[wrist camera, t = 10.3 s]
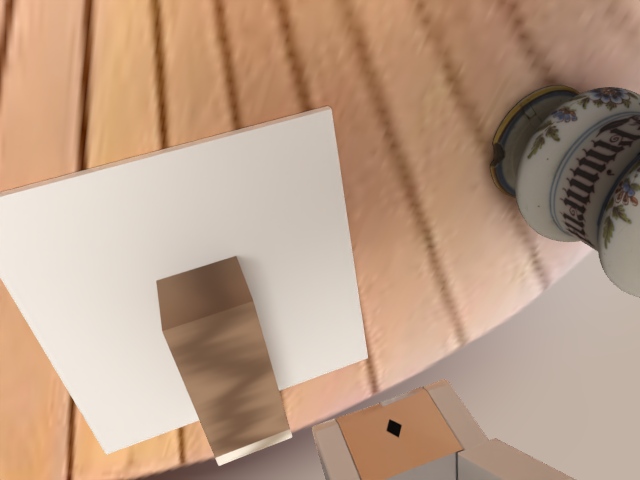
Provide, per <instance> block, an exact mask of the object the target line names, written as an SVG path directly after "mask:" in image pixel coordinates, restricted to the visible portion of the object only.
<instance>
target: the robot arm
mask: <svg viewBox="0 0 640 480" xmlns="http://www.w3.org/2000/svg"><path fill="white" fill-rule="evenodd" d="M312 431H313V435H314V438H315V443H316V446H317V451H318V455H319V458H320V462H321V465H322V469H323V472H324V475H325V479H326V480H575V479H574V478H572V477H570V476H568V475H566V474H564V473H562V472H560V471H558V470H556V469H554V468H552V467H550V466H548V465H547V464H545V463H543V462H541V461H539V460H537V459H535V458H533V457H531V456H529V455H527V454H525V453H523V452H521V451H519V450H517V449H515V448H514V447H512V446H510V445H507V444H506V443H504V442H502V441H500V440H498V439H496V438H495V439H492V440H488V438H487V437H486V435H485V434H484V432H483V431H482V429H481V428H480V427H479V425H478V424H477V422H476V421H475V419H474V418H473V416H472V415H471V413H470V412H469V410H468V409H467V408H466V406H465V405H464V403H463V402H462V400H461V399H460V397H459V396H458V395H457V393H456V392H455V390H454V389H453V387H452V386H451V384H450V383H449V382H448V381H446V380H445V379H443V380H440V381H437V382H435V383H432V384H430V385H427V386H424V387H419V388H417V389H414V390H411V391H409V392H406V393H403V394H401V395H398V396H396V397H393V398H390V399H388V400H385V401H383V402H380V403H379V404H377V405H374V406H371V407H368V408H365V409H362V410H359V411H356V412H353V413H350V414H347V415H344V416H341V417H338V418H336V419H332V420H329V421H327V422H324V423H321V424H318V425H315V426H312Z"/></svg>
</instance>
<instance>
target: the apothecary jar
mask: <svg viewBox="0 0 640 480" xmlns="http://www.w3.org/2000/svg"><path fill="white" fill-rule="evenodd" d="M493 146H494V152H495V158H494V160H493V162H492V163H491V165H490V169H491V174H492V178H493V180H494V182H495V184H496V186H497V187H498V188H499V189H500V190H501V191H502V192H504V193H505V194H507V195H509V196H512V197H515V198H516V200H517V204H518V207H519V210H520V212H521V214H522V216H523V217H524V219H525V220H526V222H527V223H528V224H529V225H530V227H531V228H532V229H534V230H535V231H536V232H537V233H539V234H540V235H542V236H544V237H547V238H549V239H552V240H556V241H563V242H575V241H582V242H584V243H585V244H587V245H589V246H590V247H592V248H593V249H595V250H597V251H598V253H599V258H600V262H601V265H602V268H603V270H604V272H605V273H606V275H607V277H608V278H609V279H610V280H611V281H612V282H613V283H614V284H615V285H616V286H617V287H618V288H619V289H621V290H622V291H624V292H626V293H628V294H630V295H633V296H636V297H640V95H639V94H637V93H635V92H632V91H629V90H626V89H622V88H615V87H607V88H598V89H594V90H590V91H587V92H584V93H581V94H580V93H579V92H578V91H576V90H575V89H573V88H570V87H567V86H550V87H546V88H543V89H540V90H538V91H535V92H533V93H532V94H530V95H528V96H527V97H525V98H524V99H523V100H521V101H520V102H519V103H518V104H517V105H516V106H515V107H514V108H513V109H512V110H511V111H510V112H509V113H508V114H507V116H506V117H505V118H504V120H503V122H502V123H501V125H500V127H499V129H498V131H497V133H496V135H495V138H494V140H493Z"/></svg>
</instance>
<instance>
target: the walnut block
mask: <svg viewBox="0 0 640 480" xmlns="http://www.w3.org/2000/svg"><path fill="white" fill-rule="evenodd" d="M156 284H157V292H158V301H159V309H160V318H161V326H162V332H163V335H164V337H165V339H166V342H167V344H168V347H169V349H170V351H171V354H172V356H173V358H174V361H175V363H176V366H177V368H178V370H179V373H180V375H181V377H182V380H183V382H184V385H185V387H186V389H187V392H188V394H189V396H190V399H191V401H192V404H193V406H194V408H195V411H196V413H197V415H198V418H199V420H200V423H201V425H202V427H203V430H204V432H205V434H206V437H207V439H208V442H209V444H210V446H211V449H212V451H213V453H214V456H215V458H216V461H217V463H218V465H219V466H220V465H222V464H224V463H227V462H230V461H232V460H235V459H237V458H240V457H243V456H245V455H248V454H250V453H253V452H255V451H258V450H261V449H263V448H266V447H268V446H271V445H274V444H276V443H279V442H281V441H284V440H286V439H289V438H291V437H292V434H291V431H290V427H289V424H288V420H287V417H286V413H285V410H284V406H283V403H282V399H281V396H280V392H279V389H278V385H277V382H276V378H275V375H274V371H273V368H272V364H271V361H270V357H269V354H268V350H267V347H266V343H265V340H264V336H263V333H262V329H261V326H260V322H259V319H258V315H257V312H256V308H255V305H254V301H253V298H252V296H251V293H250V291H249V288H248V285H247V283H246V280H245V277H244V275H243V272H242V270H241V267H240V264H239V262H238V259H237V256H234V257H231V258H227V259H224V260H221V261H218V262H215V263H211V264H208V265H205V266H202V267H198V268H195V269H192V270H189V271H186V272H182V273H179V274H176V275H173V276H170V277H166V278H163V279H160V280H157V281H156Z"/></svg>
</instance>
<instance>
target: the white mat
mask: <svg viewBox="0 0 640 480" xmlns="http://www.w3.org/2000/svg"><path fill="white" fill-rule="evenodd" d="M234 256H237V259H238V262H239V264H240V267H241V270H242V272H243V275H244V277H245V280H246V283H247V285H248V288H249V291H250V293H251V296H252V298H253V301H254V305H255V308H256V312H257V315H258V319H259V322H260V326H261V329H262V333H263V336H264V340H265V343H266V347H267V350H268V354H269V357H270V361H271V364H272V368H273V371H274V375H275V378H276V382H277V385H278V389H279V391H280V390H283V389H285V388H288V387H291V386H294V385H296V384H299V383H302V382H304V381H307V380H310V379H313V378H315V377H318V376H321V375H323V374H326V373H329V372H332V371H334V370H337V369H340V368H342V367H345V366H348V365H350V364H353V363H356V362H359V361H361V360H364V359H367V358H368V355H367V348H366V341H365V334H364V327H363V321H362V314H361V307H360V300H359V293H358V286H357V280H356V273H355V266H354V259H353V252H352V245H351V239H350V232H349V225H348V218H347V211H346V204H345V198H344V191H343V184H342V177H341V170H340V163H339V157H338V150H337V143H336V136H335V129H334V122H333V116H332V109H331V108H330V107H329V106H325V107H321V108H318V109H314V110H310V111H306V112H302V113H299V114H295V115H291V116H287V117H283V118H280V119H276V120H272V121H268V122H265V123H261V124H257V125H253V126H249V127H246V128H242V129H238V130H234V131H230V132H227V133H223V134H219V135H215V136H212V137H208V138H204V139H200V140H196V141H193V142H189V143H185V144H181V145H177V146H174V147H170V148H166V149H162V150H158V151H155V152H151V153H147V154H143V155H140V156H136V157H132V158H128V159H124V160H121V161H117V162H113V163H109V164H105V165H102V166H98V167H94V168H90V169H87V170H83V171H79V172H75V173H71V174H68V175H64V176H60V177H56V178H52V179H49V180H45V181H41V182H37V183H33V184H30V185H26V186H22V187H18V188H15V189H11V190H7V191H3V192H0V278H1V279H2V281H3V283H4V284H5V286H6V288H7V289H8V291H9V293H10V294H11V296H12V298H13V300H14V301H15V303H16V305H17V306H18V308H19V310H20V311H21V313H22V315H23V316H24V318H25V320H26V321H27V323H28V325H29V326H30V328H31V330H32V331H33V333H34V335H35V336H36V338H37V340H38V341H39V343H40V345H41V346H42V348H43V350H44V351H45V353H46V355H47V356H48V358H49V360H50V361H51V363H52V365H53V366H54V368H55V370H56V372H57V373H58V375H59V377H60V378H61V380H62V382H63V383H64V385H65V387H66V388H67V390H68V392H69V393H70V395H71V397H72V398H73V400H74V402H75V403H76V405H77V407H78V408H79V410H80V412H81V413H82V415H83V417H84V418H85V420H86V422H87V423H88V425H89V427H90V428H91V430H92V432H93V433H94V435H95V437H96V439H97V440H98V442H99V444H100V445H101V447H102V449H103V450H104V452H105V454H106V455H107V454H109V453H112V452H115V451H117V450H120V449H123V448H125V447H128V446H131V445H134V444H136V443H139V442H142V441H144V440H147V439H150V438H153V437H155V436H158V435H161V434H163V433H166V432H169V431H172V430H174V429H177V428H180V427H182V426H185V425H188V424H191V423H193V422H196V421H199V418H198V415H197V413H196V411H195V408H194V406H193V404H192V401H191V399H190V396H189V394H188V392H187V389H186V387H185V385H184V382H183V380H182V377H181V375H180V373H179V370H178V368H177V366H176V363H175V361H174V358H173V356H172V354H171V351H170V349H169V347H168V344H167V342H166V339H165V337H164V335H163V332H162V326H161V318H160V309H159V301H158V292H157V284H156V281H157V280H160V279H163V278H166V277H170V276H173V275H176V274H179V273H182V272H186V271H189V270H192V269H195V268H198V267H202V266H205V265H208V264H211V263H215V262H218V261H221V260H224V259H227V258H231V257H234Z"/></svg>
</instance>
